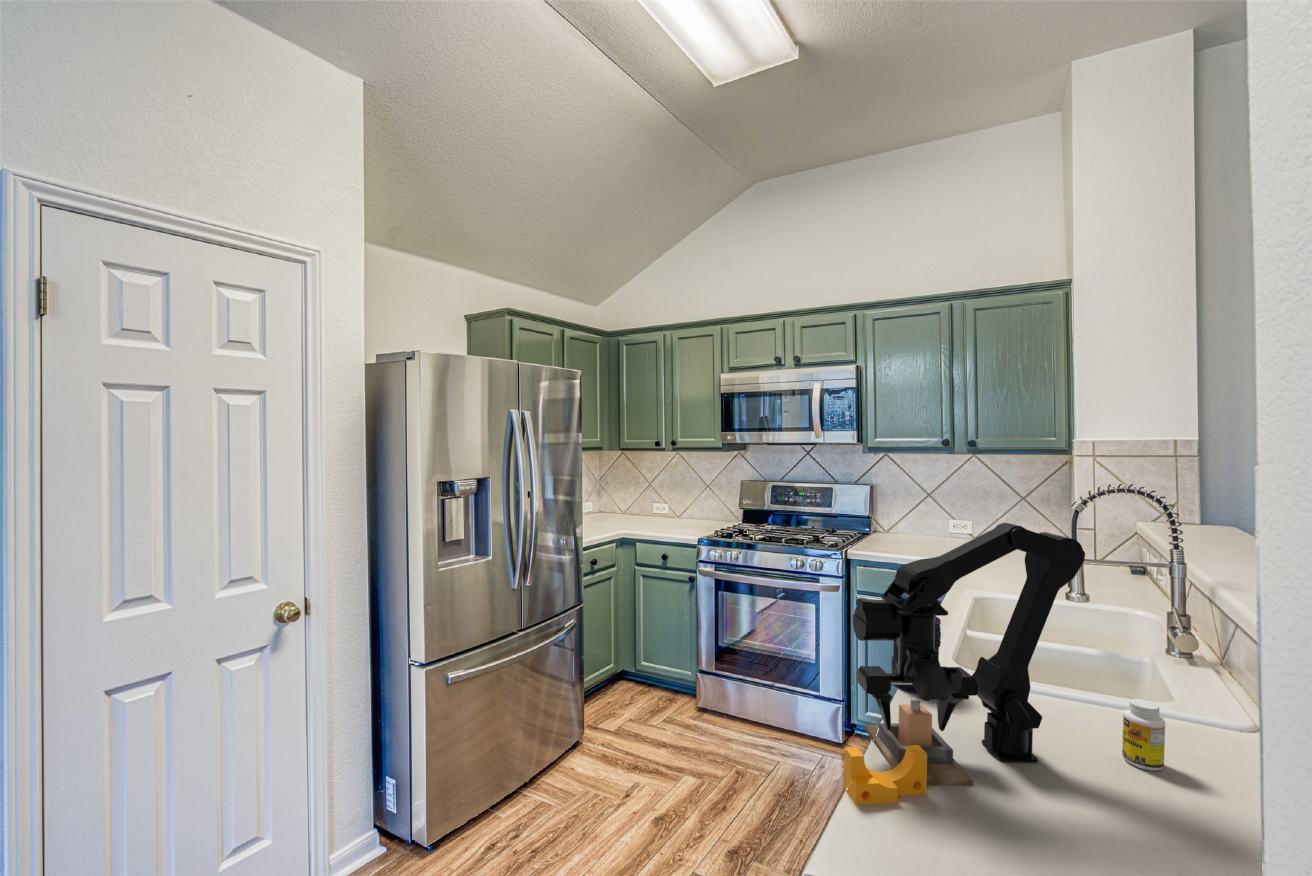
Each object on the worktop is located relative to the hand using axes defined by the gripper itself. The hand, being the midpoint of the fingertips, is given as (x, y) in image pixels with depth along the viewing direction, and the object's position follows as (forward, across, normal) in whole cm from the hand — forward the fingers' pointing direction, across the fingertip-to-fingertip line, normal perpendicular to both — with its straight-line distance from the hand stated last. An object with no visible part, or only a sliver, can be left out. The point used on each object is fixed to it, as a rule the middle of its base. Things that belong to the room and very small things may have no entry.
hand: (914, 729), depth 106 cm
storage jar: (+5, +13, +29) cm, 32 cm away
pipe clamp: (+5, -9, -12) cm, 15 cm away
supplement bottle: (+5, +38, -2) cm, 38 cm away
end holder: (+4, 0, 0) cm, 4 cm away
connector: (+4, 0, 0) cm, 4 cm away
